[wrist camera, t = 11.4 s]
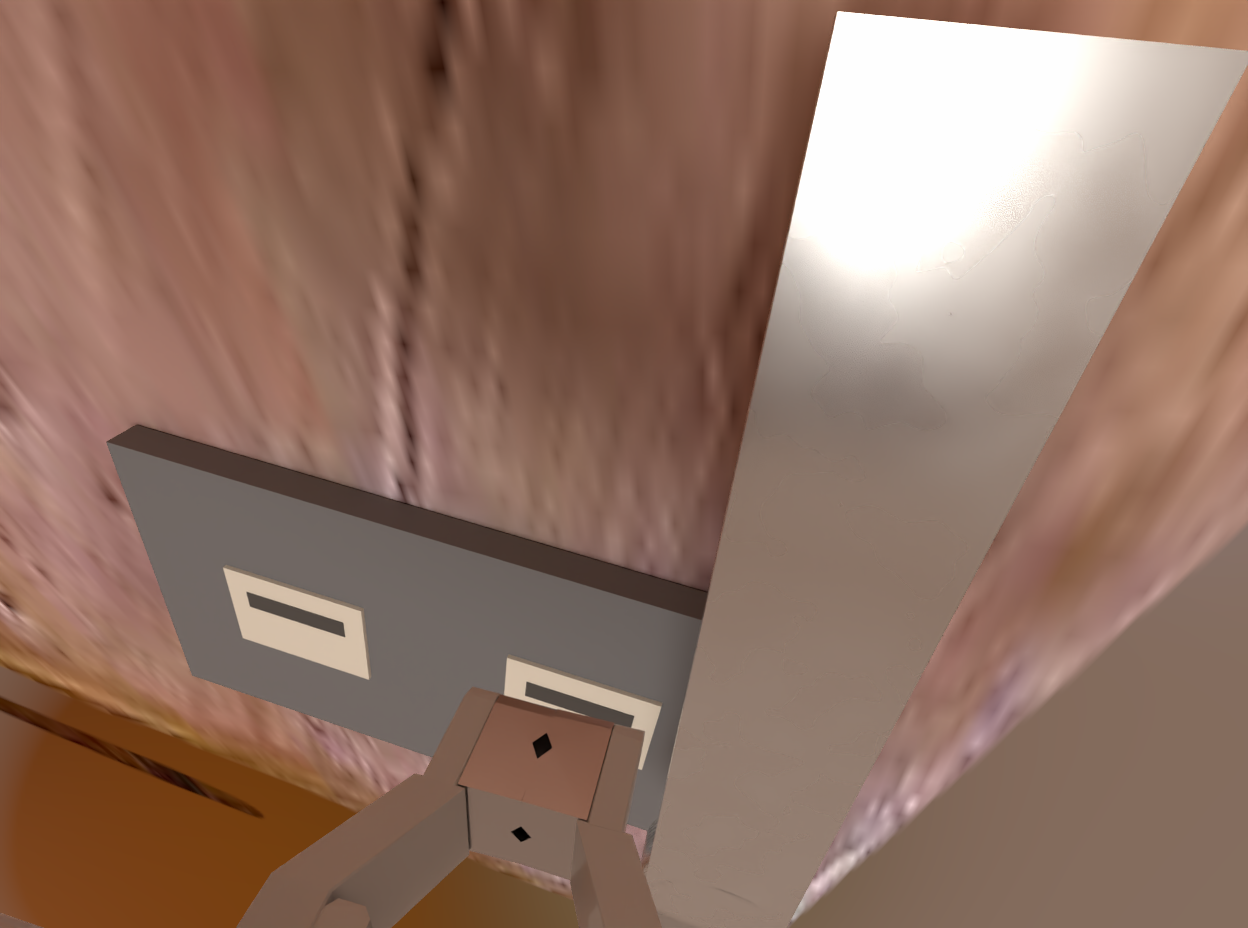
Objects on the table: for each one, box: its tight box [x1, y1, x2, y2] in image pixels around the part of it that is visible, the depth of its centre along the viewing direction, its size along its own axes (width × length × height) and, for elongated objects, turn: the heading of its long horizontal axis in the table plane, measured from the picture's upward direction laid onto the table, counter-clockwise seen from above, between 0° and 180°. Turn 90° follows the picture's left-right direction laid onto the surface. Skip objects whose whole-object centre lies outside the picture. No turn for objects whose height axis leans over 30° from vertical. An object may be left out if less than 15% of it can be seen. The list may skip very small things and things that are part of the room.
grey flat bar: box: [641, 12, 1248, 928], centre depth 18 cm, size 30×6×2 cm, turn 176°
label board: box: [106, 425, 707, 831], centre depth 30 cm, size 30×16×5 cm, turn 82°
